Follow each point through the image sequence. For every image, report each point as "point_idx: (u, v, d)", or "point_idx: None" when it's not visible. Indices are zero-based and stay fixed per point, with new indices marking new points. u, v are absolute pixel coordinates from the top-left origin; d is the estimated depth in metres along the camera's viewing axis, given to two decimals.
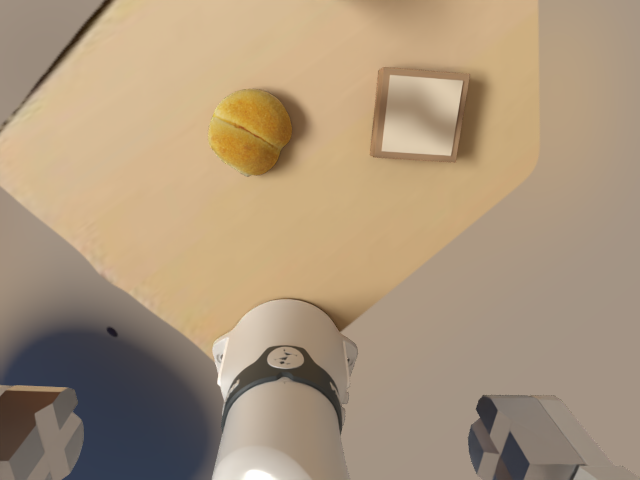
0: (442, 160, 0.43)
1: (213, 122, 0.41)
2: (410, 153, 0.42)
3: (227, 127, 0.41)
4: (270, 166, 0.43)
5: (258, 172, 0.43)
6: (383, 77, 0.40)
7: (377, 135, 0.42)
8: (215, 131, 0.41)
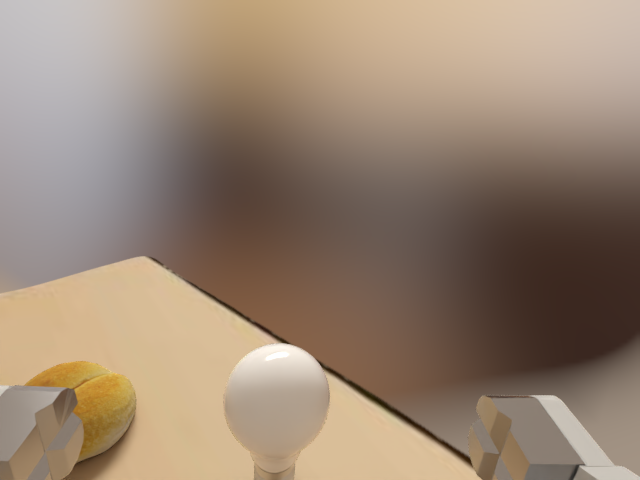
0: None
1: (105, 368, 0.33)
2: None
3: (89, 372, 0.31)
4: None
5: None
6: None
7: None
8: (91, 363, 0.33)
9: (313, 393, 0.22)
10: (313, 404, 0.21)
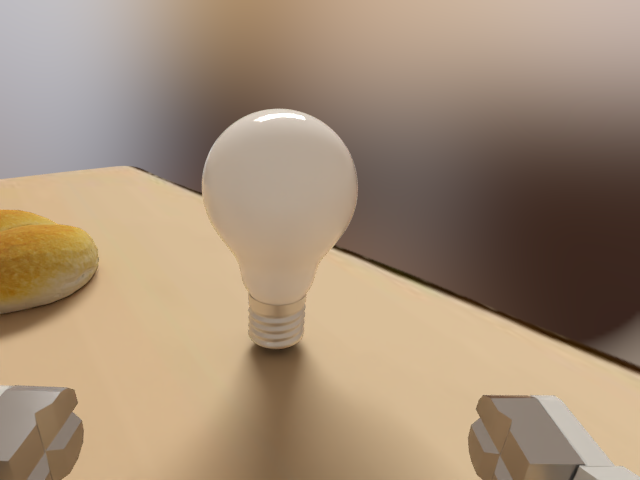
0: None
1: None
2: None
3: (37, 221, 0.24)
4: None
5: None
6: None
7: None
8: None
9: (336, 153, 0.14)
10: (336, 166, 0.14)
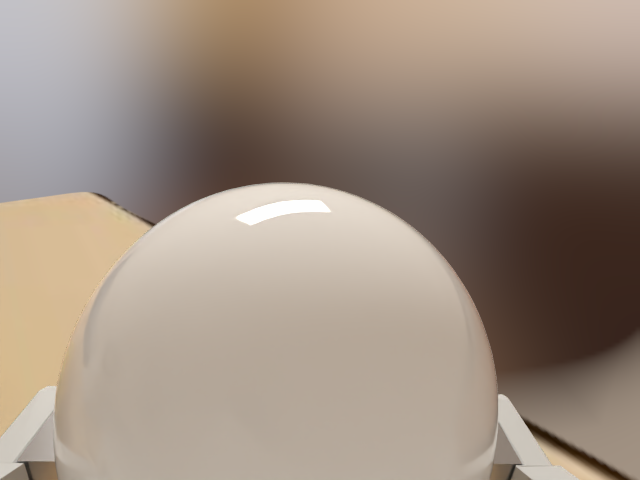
0: None
1: None
2: None
3: None
4: None
5: None
6: None
7: None
8: None
9: (470, 352, 0.04)
10: (476, 406, 0.04)
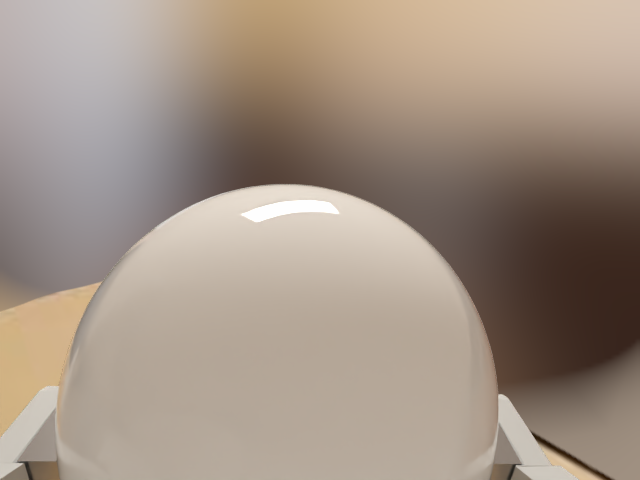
0: None
1: None
2: None
3: None
4: None
5: None
6: None
7: None
8: None
9: (469, 352, 0.04)
10: (476, 405, 0.04)
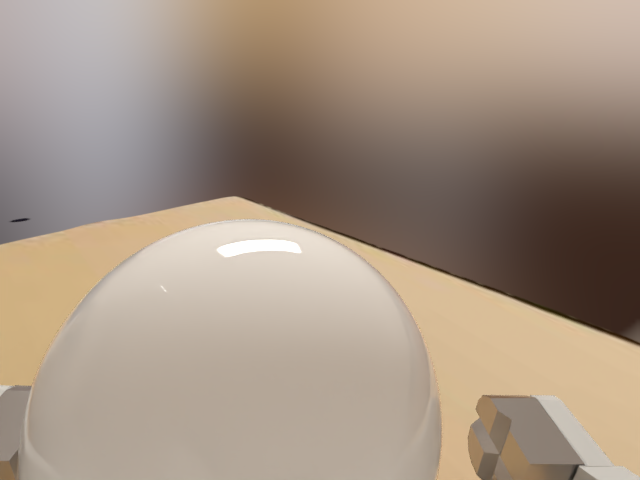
0: None
1: None
2: None
3: None
4: None
5: None
6: None
7: None
8: None
9: (395, 380, 0.05)
10: (400, 432, 0.04)
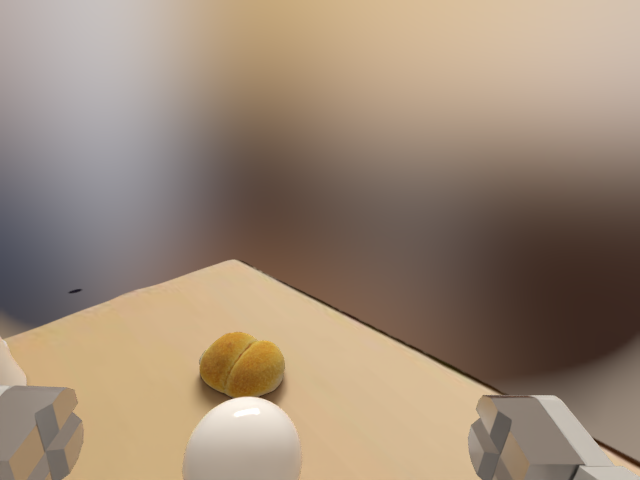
0: None
1: None
2: None
3: (249, 339, 0.44)
4: (207, 373, 0.40)
5: (202, 363, 0.41)
6: None
7: None
8: None
9: (280, 460, 0.19)
10: (279, 473, 0.19)
